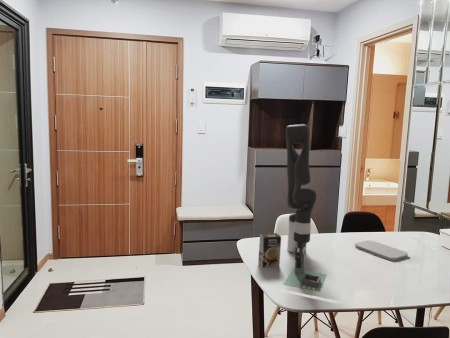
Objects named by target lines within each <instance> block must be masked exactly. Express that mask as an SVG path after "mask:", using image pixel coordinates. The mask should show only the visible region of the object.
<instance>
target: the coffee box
mask: <svg viewBox="0 0 450 338" xmlns="http://www.w3.org/2000/svg"><path fill="white" fill-rule="evenodd" d="M281 242H282V236H281V235H280V234H278V233H276V232H275V233H274V232H272V233H260V234H259V245H258V246H259V248H258V259H257V261H258V263H257V265H258V266H261V267H262V268H271V267H280V264H281V263H280V261H281V260H280V259H281V244H282V243H281Z"/></svg>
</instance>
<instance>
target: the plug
mask: <svg viewBox="0 0 450 338" xmlns="http://www.w3.org/2000/svg"><path fill="white" fill-rule="evenodd" d="M301 254H302V253H301ZM306 255H307V251H306V252H305V251H304V255H303V256H302V260H301V268H296V260H295V259H294V260H295V261H294V268H295V274H300V275H303V274H304V272H305V270H306V258H307V257H306ZM298 258H300V256H298Z"/></svg>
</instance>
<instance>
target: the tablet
mask: <svg viewBox="0 0 450 338" xmlns="http://www.w3.org/2000/svg"><path fill="white" fill-rule="evenodd" d="M354 246H355V248H356V249H359V250H361V251H364V252H366V253H368V254H371V255H374V256H377V257H378V258H379V257H380V258H382V259H385V260H388V261H393V262H394V261H397V260H401V259H405V258H407V256H409V253H408V252H407V251H404V250H401V249H399V248H397V247H396V248H395V247H393V246H389V245H386V244H383V243H381V242H377V241H375V240H363V241H359V242H358V241H357V242H355V243H354Z"/></svg>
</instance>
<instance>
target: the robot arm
mask: <svg viewBox="0 0 450 338" xmlns="http://www.w3.org/2000/svg"><path fill="white" fill-rule="evenodd" d="M285 142H286V154H287V155H286V157H287V158H286V159H287V160H286V161H287V162H286V164H287V165H286V169H287V171H286V172H287V173H286V174H287V201H286V202H287V207H288V208H290V209H293V210H294V209H296V211H295V213H291V214H290V215H289V217H288V231H287V232H288V234H287V248H286V249H287V250H286V251H288V252H289V253H294V254H295V255H294V260H296V268H301V260H302V256H303V255H304V251H305V252H306V253H307V244H308V243H309V242H310V240H311V229H312V228H311V227H312V225H311V221H312V218H311V217H312V213H313V209H314V205H315V203H316V201H317V193H316V191H315V190H314V188H302V186H305V185H306V186H307V185H309V184H310V183H311V172H310V171H311V170H310V131H309V127H308V125H307V124H304V123H301V124H292V125H291V124H290V125H286V128H285ZM294 144H295V145H296V144H297V145H298V144H302V148H301V151H300V154H299V153H298V152H297V150H296V149H295V147H294ZM301 253H302V254H301ZM298 256H300V258H298Z"/></svg>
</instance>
